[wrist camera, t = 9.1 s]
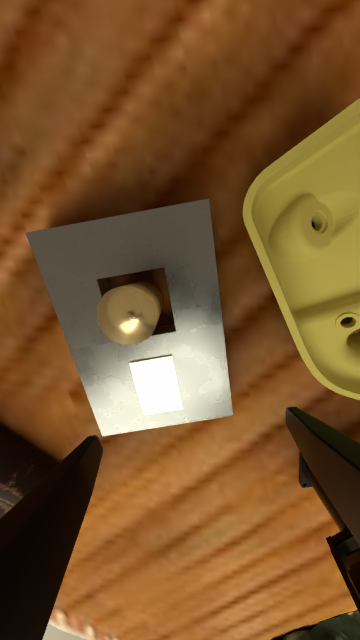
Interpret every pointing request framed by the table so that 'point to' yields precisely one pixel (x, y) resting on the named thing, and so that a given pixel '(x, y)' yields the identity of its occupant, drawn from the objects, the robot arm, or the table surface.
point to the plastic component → (315, 246)
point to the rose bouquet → (331, 629)
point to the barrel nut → (130, 312)
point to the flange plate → (166, 341)
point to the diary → (19, 469)
